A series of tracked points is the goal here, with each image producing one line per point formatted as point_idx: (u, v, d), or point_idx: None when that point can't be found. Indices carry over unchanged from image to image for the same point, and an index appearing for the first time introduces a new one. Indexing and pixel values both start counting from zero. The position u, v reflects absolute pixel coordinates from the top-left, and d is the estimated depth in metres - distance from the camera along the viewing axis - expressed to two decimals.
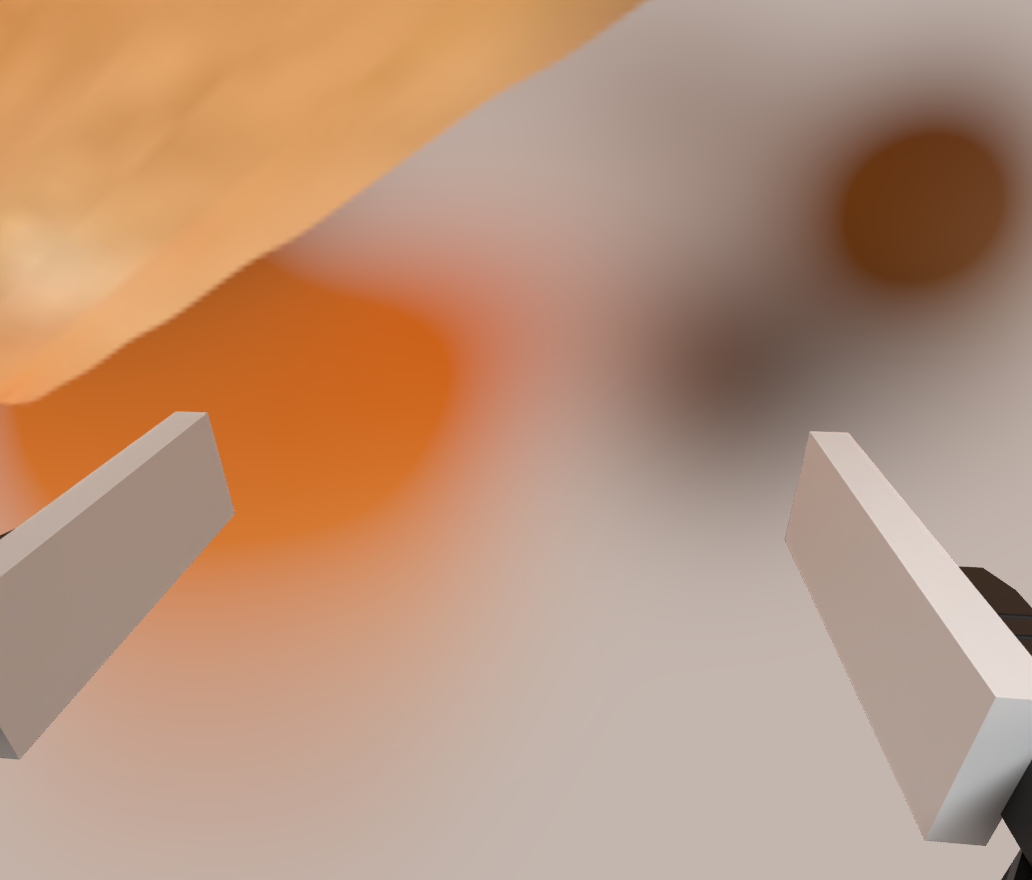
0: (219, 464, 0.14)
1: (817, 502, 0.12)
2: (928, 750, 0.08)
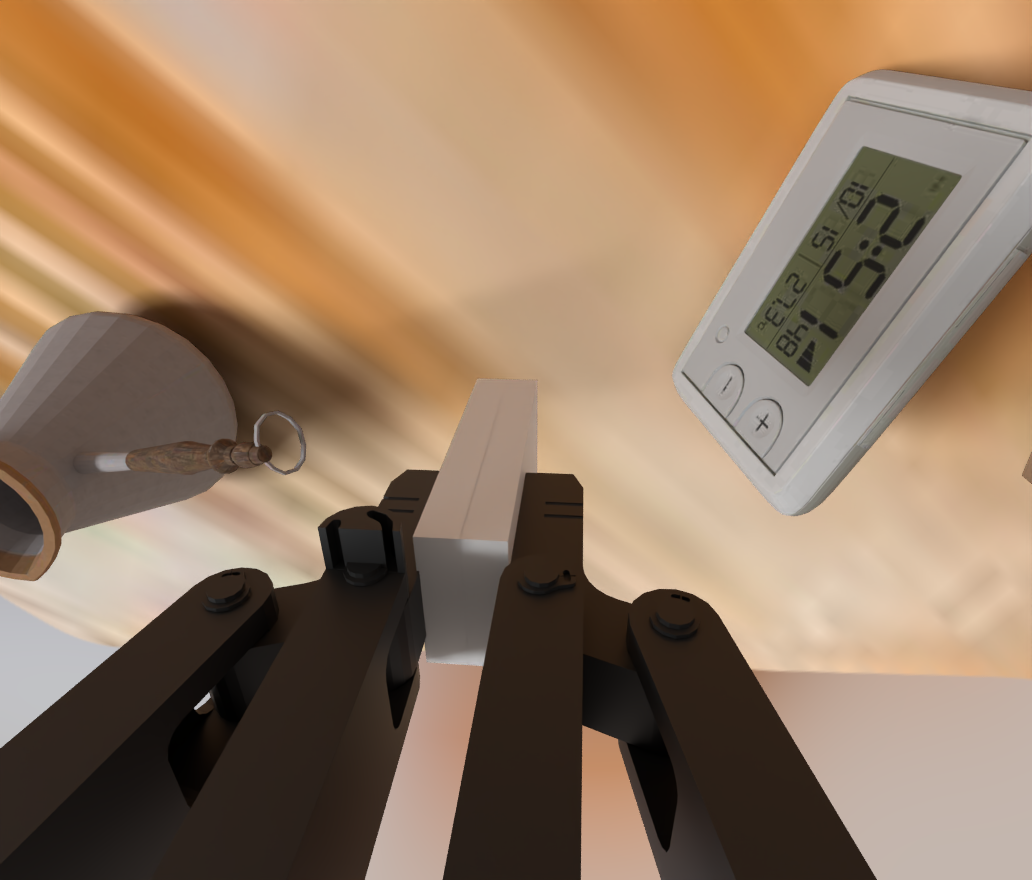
0: None
1: None
2: None
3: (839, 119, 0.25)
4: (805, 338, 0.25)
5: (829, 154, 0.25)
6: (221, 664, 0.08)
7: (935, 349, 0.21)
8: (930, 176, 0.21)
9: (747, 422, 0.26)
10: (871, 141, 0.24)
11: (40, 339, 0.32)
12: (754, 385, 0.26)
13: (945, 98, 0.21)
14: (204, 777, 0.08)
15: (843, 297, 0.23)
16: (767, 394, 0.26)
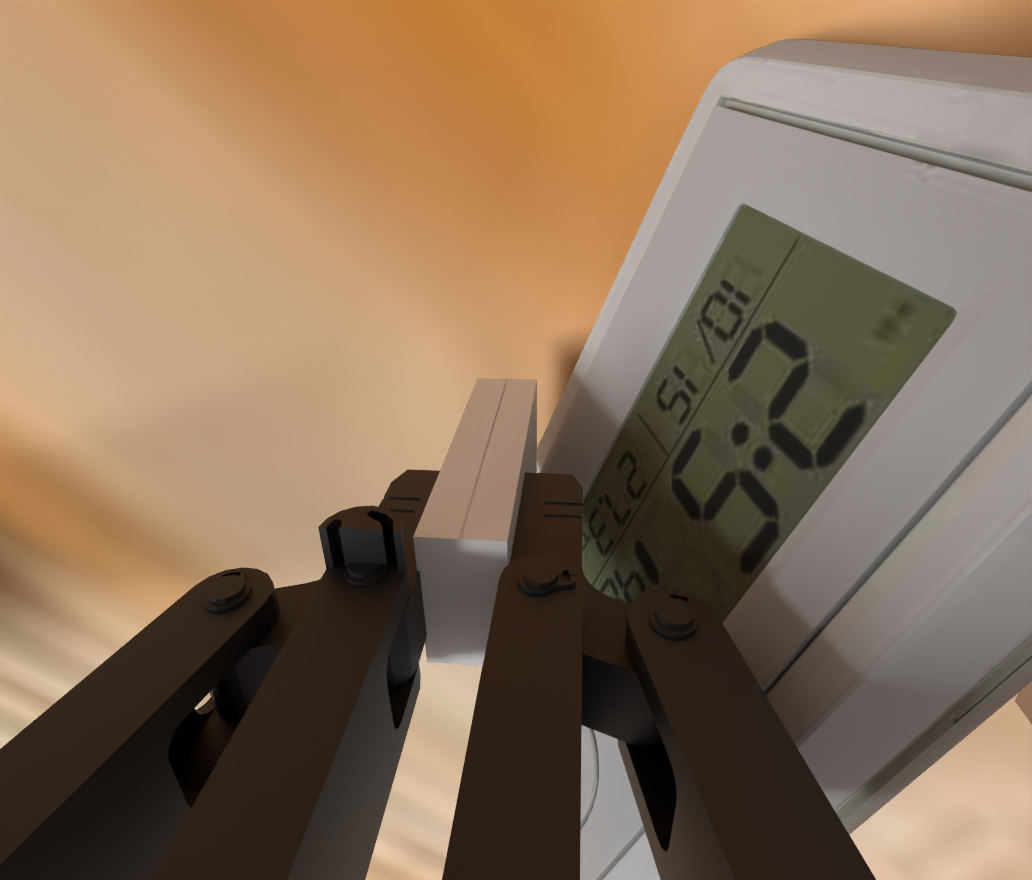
0: None
1: None
2: None
3: (704, 144, 0.12)
4: None
5: (687, 216, 0.12)
6: (222, 664, 0.08)
7: (901, 759, 0.08)
8: (876, 296, 0.08)
9: None
10: (756, 195, 0.11)
11: None
12: None
13: (907, 96, 0.08)
14: (204, 777, 0.08)
15: (701, 546, 0.10)
16: None
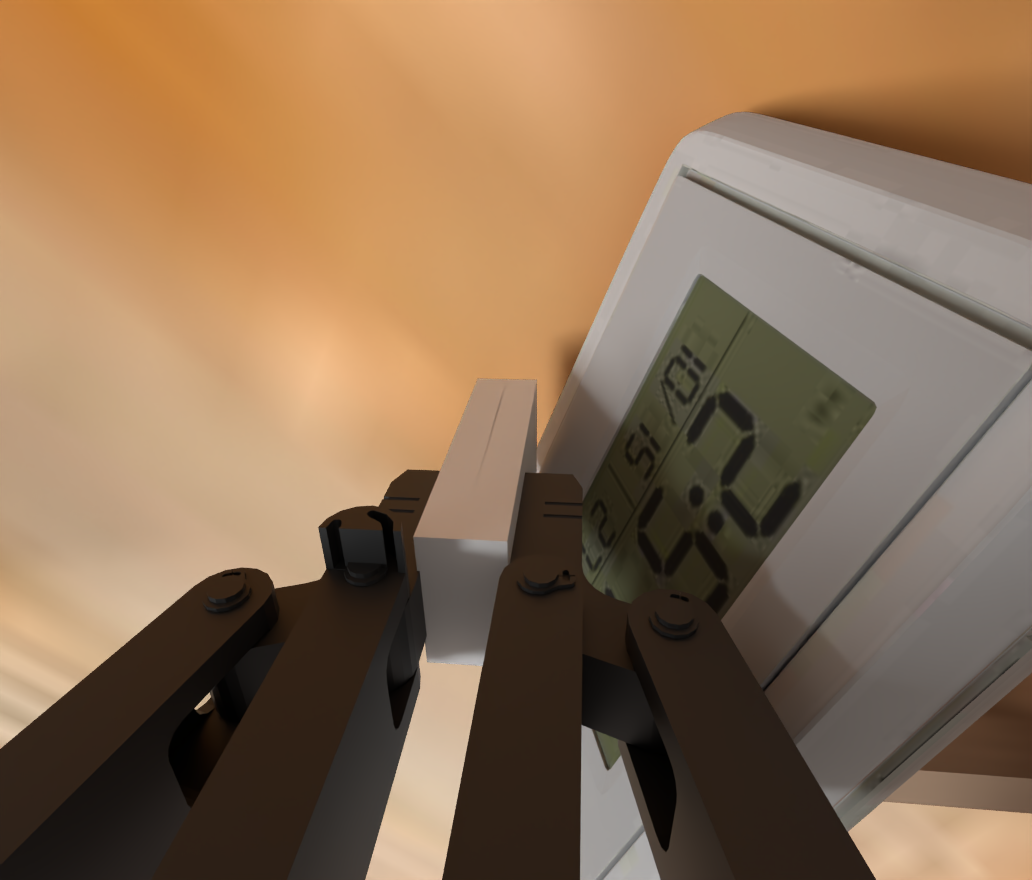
0: None
1: None
2: None
3: (668, 211, 0.13)
4: None
5: (652, 278, 0.13)
6: (222, 664, 0.08)
7: (836, 811, 0.09)
8: (812, 380, 0.09)
9: None
10: (711, 267, 0.11)
11: None
12: None
13: (839, 193, 0.09)
14: (204, 777, 0.08)
15: None
16: None
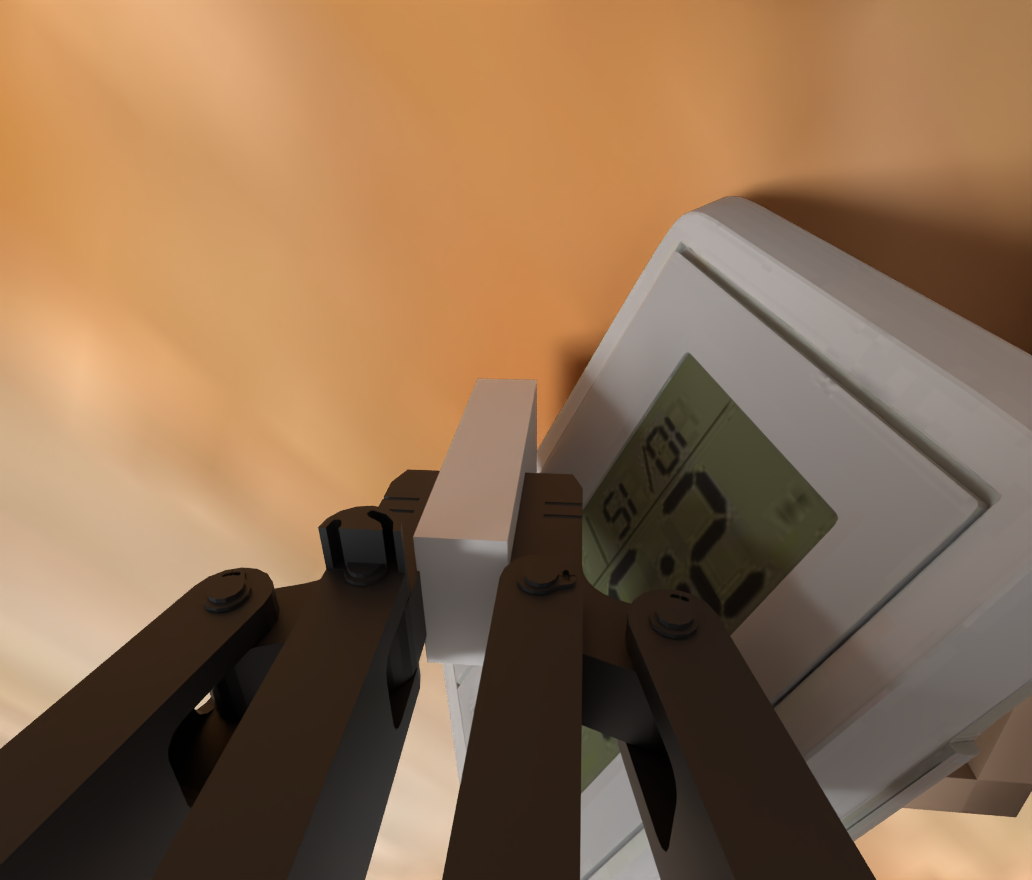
0: None
1: None
2: None
3: (663, 283, 0.14)
4: None
5: (642, 346, 0.14)
6: (221, 664, 0.08)
7: None
8: (782, 479, 0.10)
9: None
10: (699, 349, 0.12)
11: None
12: None
13: (822, 309, 0.10)
14: (204, 777, 0.08)
15: None
16: None
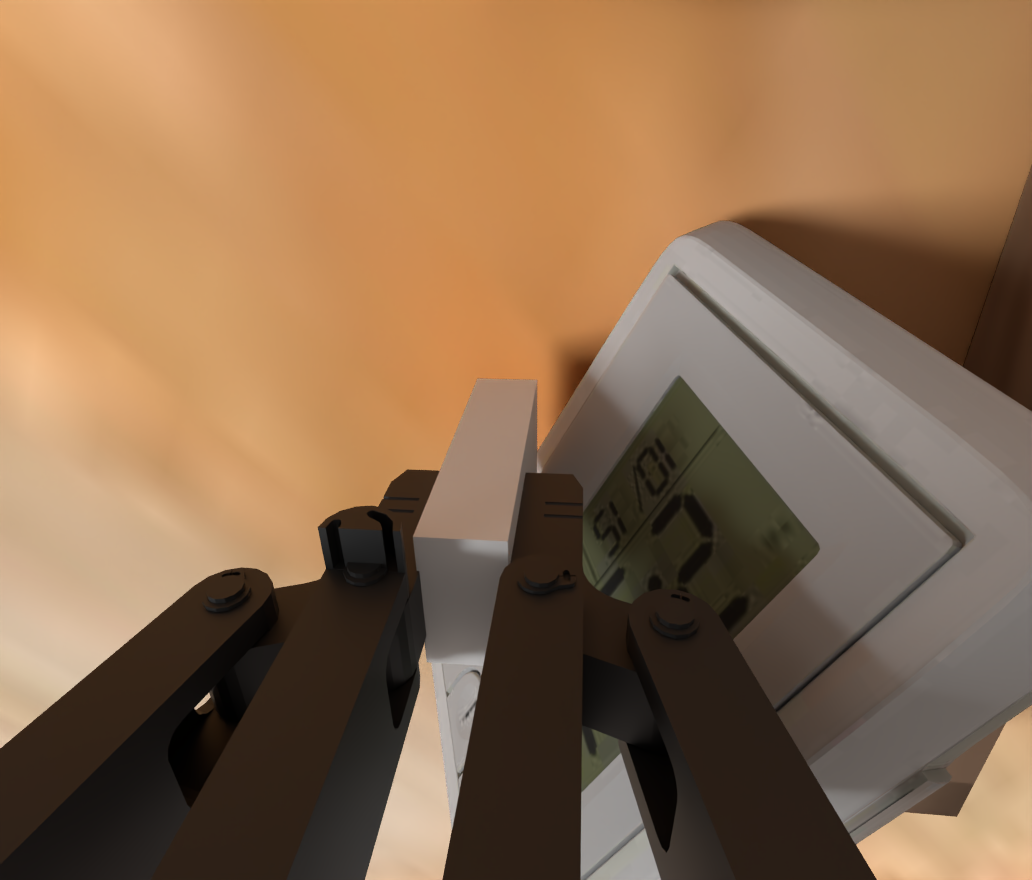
0: None
1: None
2: None
3: (656, 305, 0.14)
4: None
5: (635, 366, 0.14)
6: (221, 664, 0.08)
7: None
8: (768, 506, 0.10)
9: None
10: (690, 373, 0.12)
11: None
12: None
13: (810, 341, 0.10)
14: (204, 777, 0.08)
15: None
16: None
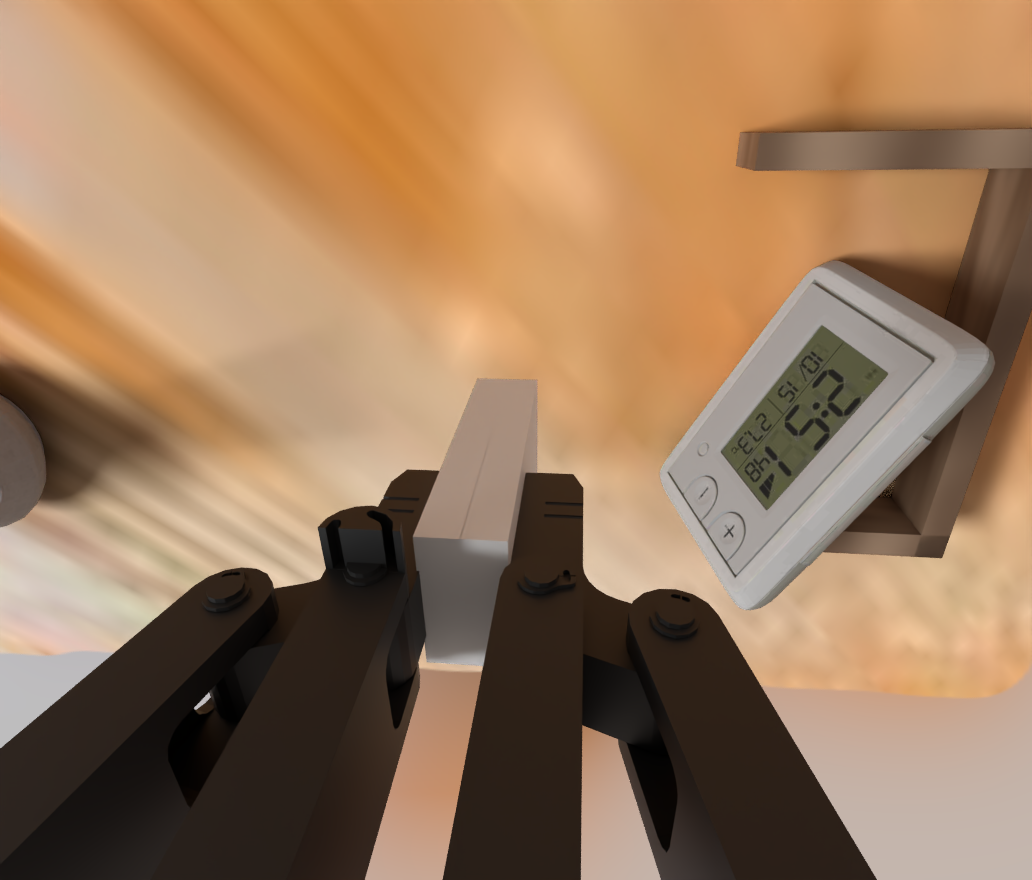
0: None
1: None
2: None
3: (806, 297, 0.32)
4: (767, 469, 0.31)
5: (796, 323, 0.32)
6: (221, 664, 0.08)
7: (861, 500, 0.27)
8: (867, 365, 0.28)
9: (717, 528, 0.33)
10: (828, 323, 0.30)
11: None
12: (725, 499, 0.33)
13: (882, 307, 0.28)
14: (204, 777, 0.08)
15: (797, 444, 0.30)
16: (734, 509, 0.32)
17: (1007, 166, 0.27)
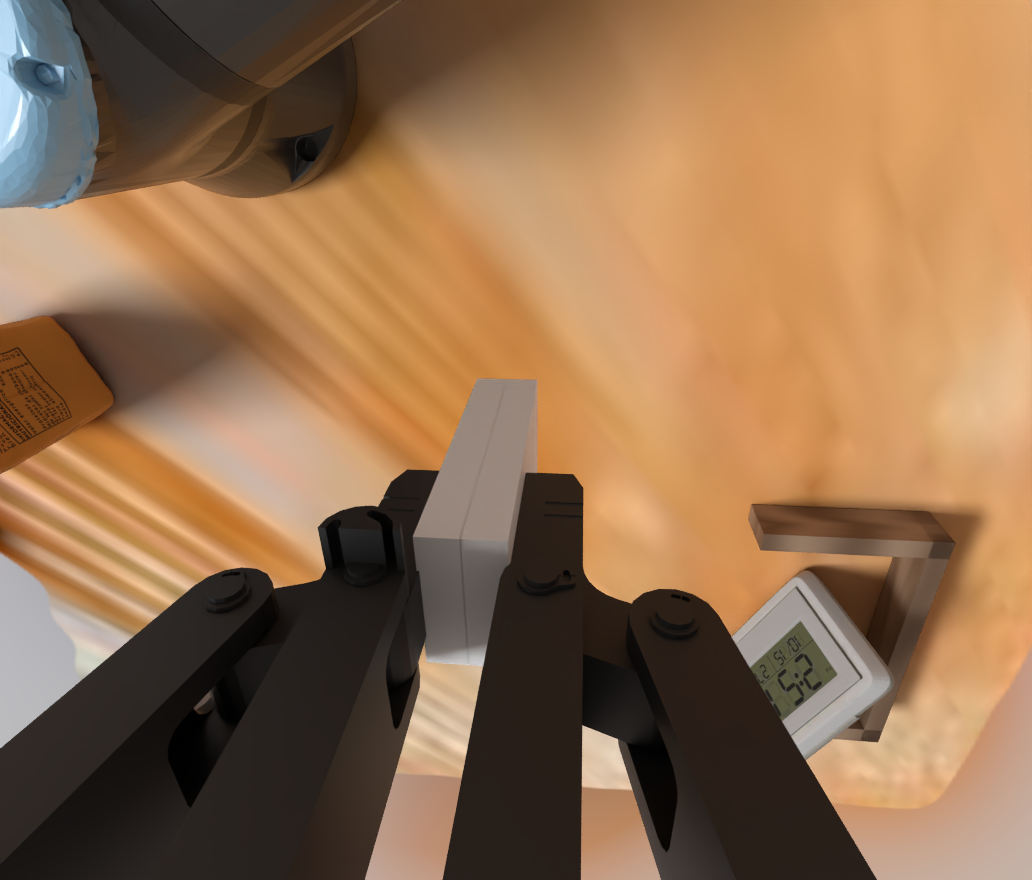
0: None
1: None
2: None
3: (791, 596, 0.51)
4: None
5: (785, 612, 0.51)
6: (221, 664, 0.08)
7: (821, 742, 0.47)
8: (826, 662, 0.47)
9: None
10: (804, 622, 0.50)
11: None
12: None
13: (835, 627, 0.47)
14: (204, 777, 0.08)
15: (785, 696, 0.49)
16: None
17: (906, 556, 0.46)
